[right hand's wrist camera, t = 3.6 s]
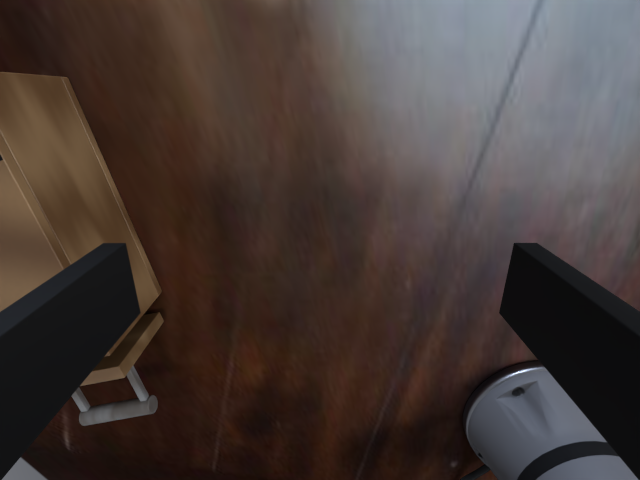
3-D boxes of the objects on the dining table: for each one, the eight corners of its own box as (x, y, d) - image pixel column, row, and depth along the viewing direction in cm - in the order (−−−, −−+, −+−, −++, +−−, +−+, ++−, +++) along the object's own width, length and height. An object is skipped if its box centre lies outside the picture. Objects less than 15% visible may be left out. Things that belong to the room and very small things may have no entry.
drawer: (185, 367, 39) (153, 431, 32) (112, 381, 40) (64, 446, 32) (77, 129, 30) (-4, 140, 23) (-15, 152, 31) (-123, 170, 23)
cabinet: (162, 291, 37) (110, 356, 28) (74, 309, 37) (-5, 378, 28) (68, 77, 29) (-46, 67, 20) (-39, 105, 30) (-196, 108, 21)
